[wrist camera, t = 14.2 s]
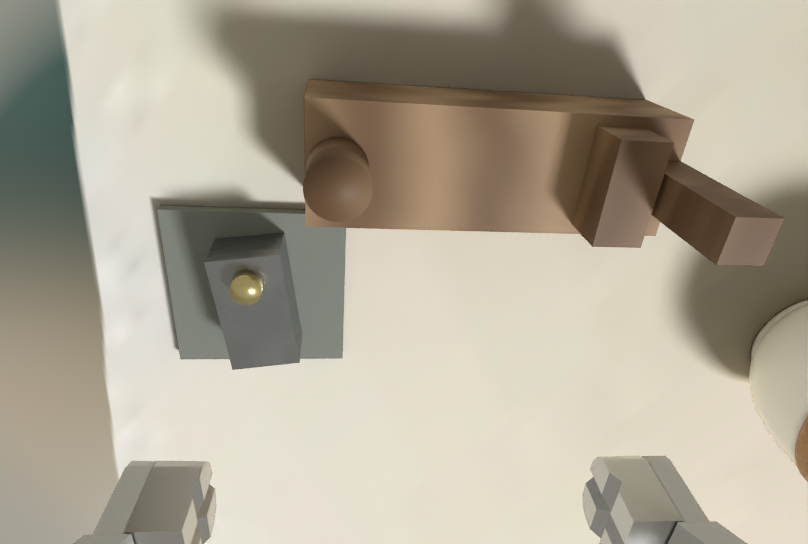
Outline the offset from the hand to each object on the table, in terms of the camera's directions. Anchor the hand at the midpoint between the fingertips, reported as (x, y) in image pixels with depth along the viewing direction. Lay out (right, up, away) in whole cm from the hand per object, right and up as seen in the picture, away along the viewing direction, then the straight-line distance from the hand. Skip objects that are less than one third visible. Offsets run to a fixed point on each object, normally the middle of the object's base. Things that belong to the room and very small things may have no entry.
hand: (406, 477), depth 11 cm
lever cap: (-8, +3, +20) cm, 22 cm away
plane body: (+4, +11, +18) cm, 21 cm away
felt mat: (-9, +4, +21) cm, 23 cm away
